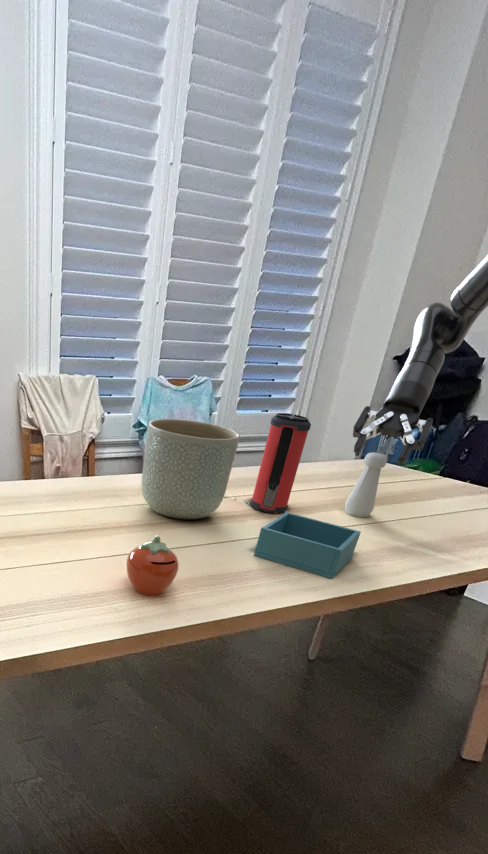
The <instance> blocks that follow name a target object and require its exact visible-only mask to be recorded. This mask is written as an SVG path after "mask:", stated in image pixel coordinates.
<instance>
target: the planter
mask: <svg viewBox="0 0 488 854" xmlns="http://www.w3.org/2000/svg"><path fill="white" fill-rule="evenodd" d="M145 437H146V438H145V446H144V455H143V463H142V471H141V472H142V473H141V486H140V487H141V494H142V497H143V500H144V501H145V503H146V504H147V505H148V506H149V508H151V510H153V511H154V512H156V513H157V514H159V515H161V516H165V517H168V518H172V519H178V520H188V521H189V520H192V521H193V520H200V519H203V518H206V517H207V516H210V515H211V514H212V513H214V512H215V511H216V510H217V509H218V508H219V507H220V506H221V504H222V501H223V500H224V498H225V495H226V492H227V488H228V486H229V485H228V484H229V481H230V476H231V473H232V469H233V466H234V461H235V457H236V455H237V451H238V445H239V442H240V437H241V436H240V434H239V433H238V432H237V431H236V430H233V429H230V428H228V427H225V426H221V425H219V424H218V425H217V424H213V423H209V422H203V421H197V420H189V419H181V418H180V419H178V418H157V419H152V420H150V421H149V422H148V424H147V429H146V436H145Z"/></svg>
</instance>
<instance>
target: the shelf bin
mask: <svg viewBox="0 0 488 854" xmlns="http://www.w3.org/2000/svg"><path fill="white" fill-rule="evenodd" d="M361 533H362V532H361V530H357V529H352V528H348V527H345V526H341V525H337V524H334V523H330V522H326V521H323V520H318V519H314V518H310V517H307V516H304V515H300V514H295V513H292V512H288V511H285V512H283V513H282V514H281V515H279V516H278V517H276V518H275V519H273V520H272V521H270V522H268V523H267V524H265V525H264V526H262V527H261V528H260V530H259V535H258V538H257V541H256V546H255V550H254V554H253V556H254V557H258V558H260V559H265V560H268V561H271V562H275V563H277V564H281V565H284V566H288V567H291V568H295V569H298V570H301V571H304V572H307V573H312V574H314V575H318V576H321V577H324V578H329V579H333V578H334V577H335V576H336V575H338V573H339V572H340V571H341V570H342V569H343V568H344V567H345V566H346V565H347V563H348V562H350V561H351V559H352V558H353V555H354V553H355V550H356V548H357V544H358V541H359V539H360V535H361Z"/></svg>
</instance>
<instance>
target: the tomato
mask: <svg viewBox="0 0 488 854" xmlns="http://www.w3.org/2000/svg"><path fill="white" fill-rule="evenodd" d="M179 566H180V564H179V560H178V556H177V555H176V554H175V552H173V550H171V549H170V548H168V546H167V544H166V543H164V542H162V541H161V537H160V536H159V535H155V536H154V537H153V539H152V540H148V541H146V542H144V543H143V544H141V545H138V546H136V547H134V548H133V549H131V551H130V552H129V554H128V555H127V557H126V574H127V577H128V580H129V583H130V585H131V586H132V587H133V588H134V590H135V591H136V592H138V593H139V594H141V595H144V596H149V597H151V596H152V597H155V596H159V595H160V594H161V593H163V592H165V591H166V590H167V589H168V588H169V587H170V586H171V585H172V584H173V582H174V581H175V579H176V577H177V575H178V571H179V569H180V567H179Z"/></svg>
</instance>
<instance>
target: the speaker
mask: <svg viewBox="0 0 488 854" xmlns="http://www.w3.org/2000/svg"><path fill="white" fill-rule="evenodd" d="M269 422H270V426H269V431H268V434H267V439H266V443H265V445H264V446H265V447H264V450H263V455H262V458H261V463H260V466H259V471H258V473H257V478H256V481H255V486H254V490H253V494H252V497H251V499H250V501H249V505H250V506H251V507H252V508H253V509H254V510H256V511H259V512H263V513H266V514H272V515H273V514H281V515H282V514H284V513H286V511H287V510H288V506H289V505H288V503H289V500H290V497H291V493H292V489H293V487H294V482H295V479H296V476H297V472H298V468H299V465H300V462H301V458H302V454H303V450H304V447H305V443H306V442H307V441H306V440H307V437H308V434H309V431H310V430H311V426H312V424H311V422H310V421H309V418H308V417H306V416H303V415H299V414H293V413H286V412H285V413H284V412H280V413H279V412H278V413H276V415H274V416H272V417H271V419H270V421H269Z"/></svg>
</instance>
